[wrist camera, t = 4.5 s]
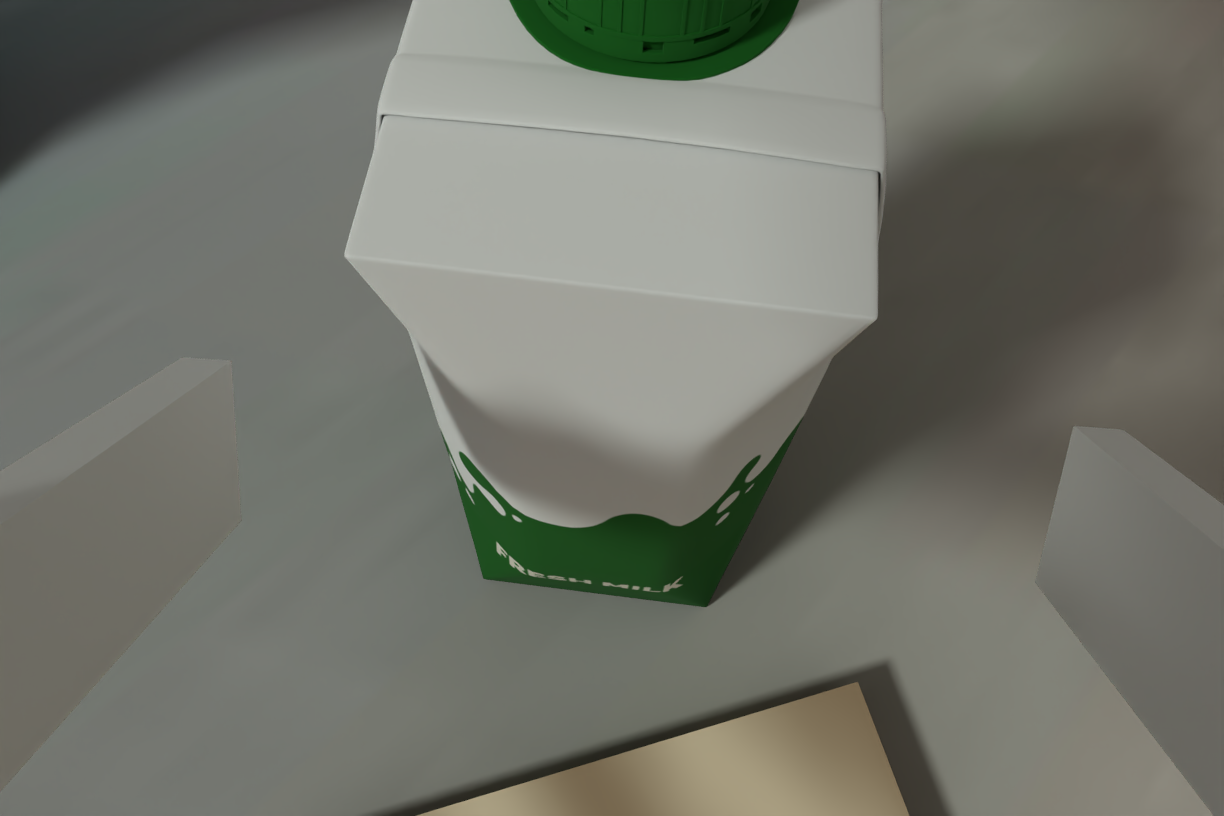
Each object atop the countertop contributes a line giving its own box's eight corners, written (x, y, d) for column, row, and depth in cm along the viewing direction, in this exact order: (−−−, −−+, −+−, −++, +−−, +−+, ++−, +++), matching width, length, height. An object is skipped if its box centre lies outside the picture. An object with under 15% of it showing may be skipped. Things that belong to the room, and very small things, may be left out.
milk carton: (751, 381, 33) (959, -210, 15) (734, 646, 29) (987, 285, 11) (497, 350, 33) (396, -268, 15) (446, 609, 29) (229, 196, 11)
